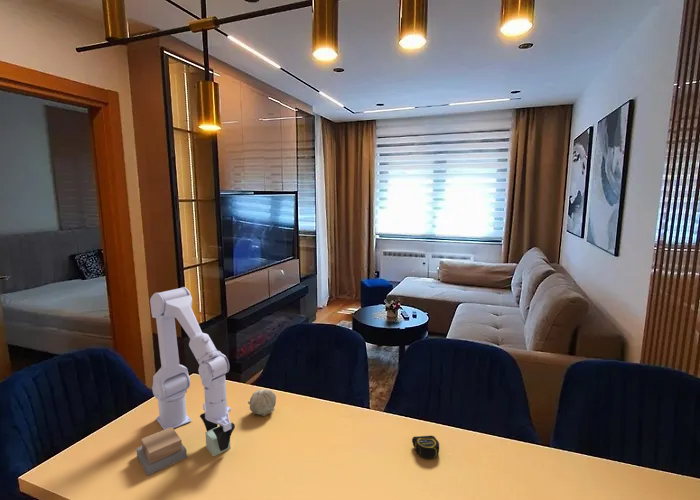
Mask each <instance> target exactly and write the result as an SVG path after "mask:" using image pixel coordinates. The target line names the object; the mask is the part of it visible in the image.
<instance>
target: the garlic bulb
mask: <svg viewBox="0 0 700 500" xmlns="http://www.w3.org/2000/svg"><path fill="white" fill-rule="evenodd" d="M276 402H277V396H276V393H274V392H273V391H272V390H270V389H262V388H261V389H258V390H256V391H254V392H253V393H252V395H251V397H250V399H249V400H248V401H247V404H248V405H249V410H250V411H251V413H252V414H255V415H259V416H263V417H265V416H268V414H271V413H273V412H274V411H275V407H276Z"/></svg>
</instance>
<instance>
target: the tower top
mask: <svg viewBox="0 0 700 500" xmlns="http://www.w3.org/2000/svg"><path fill="white" fill-rule="evenodd" d="M140 439H141V446H142V449H143V451H144V453H145V455H146V457H147V459H148V461H149V462H150V464H151V463H153V462H155V461H158V460H160V459H162V458H164V457H167V456H169V455H171V454H174V453H176V452H178V451H180V450H182V444H183V443H182V438H181V437H180V436H179V435H178V433H177V432H176V430H175V428H172V427H170V428H167V429H165V430H164V429H162V430H161V431H158V432H155V433H152V434H150V435H147V436H145V437H142V438H140Z"/></svg>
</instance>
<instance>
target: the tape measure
mask: <svg viewBox="0 0 700 500" xmlns="http://www.w3.org/2000/svg"><path fill="white" fill-rule="evenodd" d="M411 442H412V447H413V448H414V449H415V452H416V454H417V455H418V456H420V457H421V458H424V459H432V458H433V459H434V458H436V457H437V456H438V455H439V453H440V442H439V440H438V439H437V438H436V437H435V436H434V435H421V436H413V437H412V438H411Z"/></svg>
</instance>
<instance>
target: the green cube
mask: <svg viewBox="0 0 700 500" xmlns="http://www.w3.org/2000/svg"><path fill="white" fill-rule="evenodd" d="M218 427H220V425H218ZM216 428H217V427H216ZM214 429H215V428H214ZM205 447H206V449H207V451H208V452H209V453H210V454H211V455H212V456H213V457H215V456H218V455H220V454H222V453H224V452H226V451H228V450H230V449H231V439H230V440H229V445H228V448H227V449H225V450H223V451H221V450H220V449H219V445H218V440H217V437H216V435H215V433H214V432H213V429H211V430H209V431H207V430H206V431H205Z"/></svg>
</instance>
